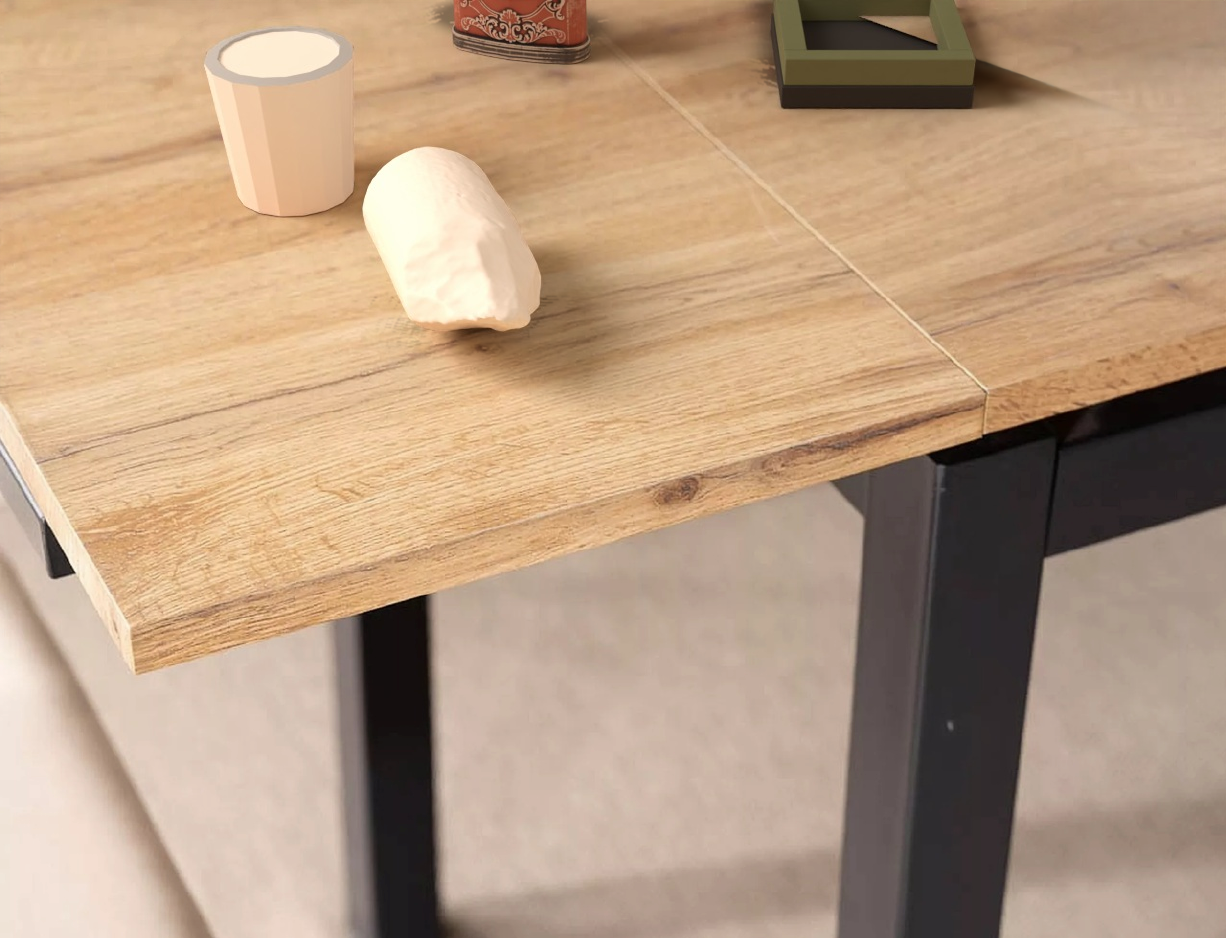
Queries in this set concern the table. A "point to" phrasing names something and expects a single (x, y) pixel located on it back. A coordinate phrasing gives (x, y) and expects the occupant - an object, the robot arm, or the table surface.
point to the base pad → (869, 55)
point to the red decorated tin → (523, 29)
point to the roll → (450, 243)
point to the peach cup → (286, 117)
